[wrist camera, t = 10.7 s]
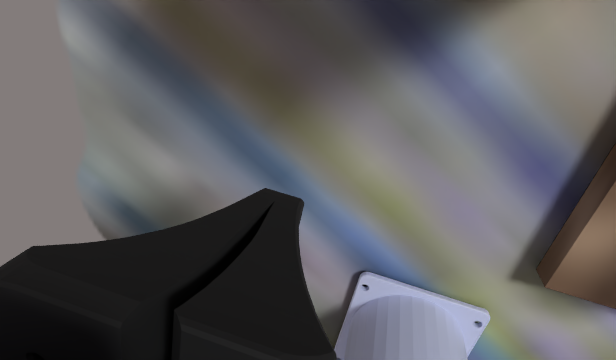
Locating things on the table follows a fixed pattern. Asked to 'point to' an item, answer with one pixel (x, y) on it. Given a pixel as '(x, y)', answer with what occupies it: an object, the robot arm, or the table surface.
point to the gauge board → (587, 243)
